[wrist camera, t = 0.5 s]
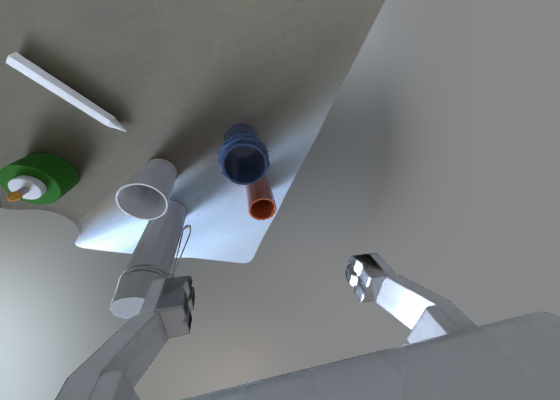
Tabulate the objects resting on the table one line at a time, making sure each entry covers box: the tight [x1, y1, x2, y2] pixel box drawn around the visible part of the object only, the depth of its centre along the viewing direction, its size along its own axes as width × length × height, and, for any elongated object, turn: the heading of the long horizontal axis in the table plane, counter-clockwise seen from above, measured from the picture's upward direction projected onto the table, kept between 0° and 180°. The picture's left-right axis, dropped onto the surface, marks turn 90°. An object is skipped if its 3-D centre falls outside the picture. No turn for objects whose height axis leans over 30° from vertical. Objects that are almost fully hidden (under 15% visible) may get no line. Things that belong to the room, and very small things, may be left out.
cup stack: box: [222, 124, 268, 185], centre depth 40 cm, size 8×8×12 cm
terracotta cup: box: [246, 177, 276, 220], centre depth 48 cm, size 6×6×10 cm
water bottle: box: [109, 201, 191, 319], centre depth 42 cm, size 9×8×25 cm
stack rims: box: [218, 133, 270, 183], centre depth 37 cm, size 9×9×2 cm
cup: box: [116, 158, 177, 220], centre depth 40 cm, size 8×8×12 cm
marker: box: [6, 52, 127, 132], centre depth 34 cm, size 3×2×16 cm
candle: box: [0, 152, 79, 204], centre depth 37 cm, size 8×8×10 cm
